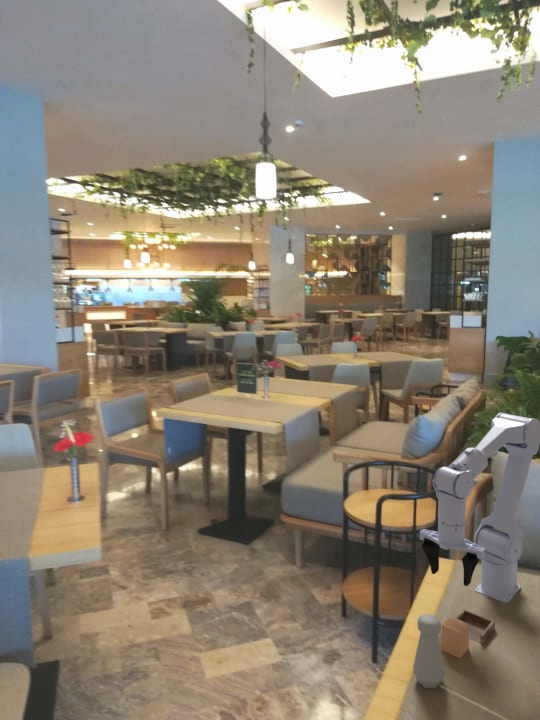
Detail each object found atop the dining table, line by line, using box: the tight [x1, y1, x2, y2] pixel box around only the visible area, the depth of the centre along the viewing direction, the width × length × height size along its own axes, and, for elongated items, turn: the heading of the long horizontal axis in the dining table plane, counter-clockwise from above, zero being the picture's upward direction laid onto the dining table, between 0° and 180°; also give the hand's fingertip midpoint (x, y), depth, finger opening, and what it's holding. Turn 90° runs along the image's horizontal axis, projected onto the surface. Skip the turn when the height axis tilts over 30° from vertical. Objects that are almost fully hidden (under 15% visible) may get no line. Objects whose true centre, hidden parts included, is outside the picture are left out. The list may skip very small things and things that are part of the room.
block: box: [441, 615, 470, 659], centre depth 110 cm, size 4×4×6 cm
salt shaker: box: [412, 613, 446, 690], centre depth 101 cm, size 6×6×13 cm
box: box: [454, 608, 496, 644], centre depth 116 cm, size 6×7×2 cm
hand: (450, 577), depth 120 cm, fingers open, 7 cm apart
